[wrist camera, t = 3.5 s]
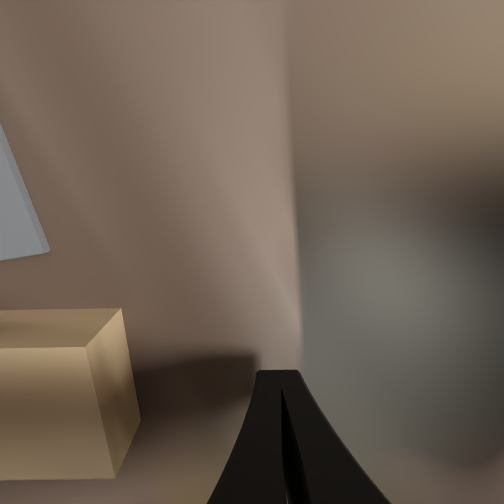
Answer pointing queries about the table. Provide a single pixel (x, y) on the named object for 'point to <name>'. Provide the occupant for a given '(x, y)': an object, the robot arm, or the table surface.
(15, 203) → the slate coaster
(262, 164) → the table surface
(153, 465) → the table surface
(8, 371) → the tile
